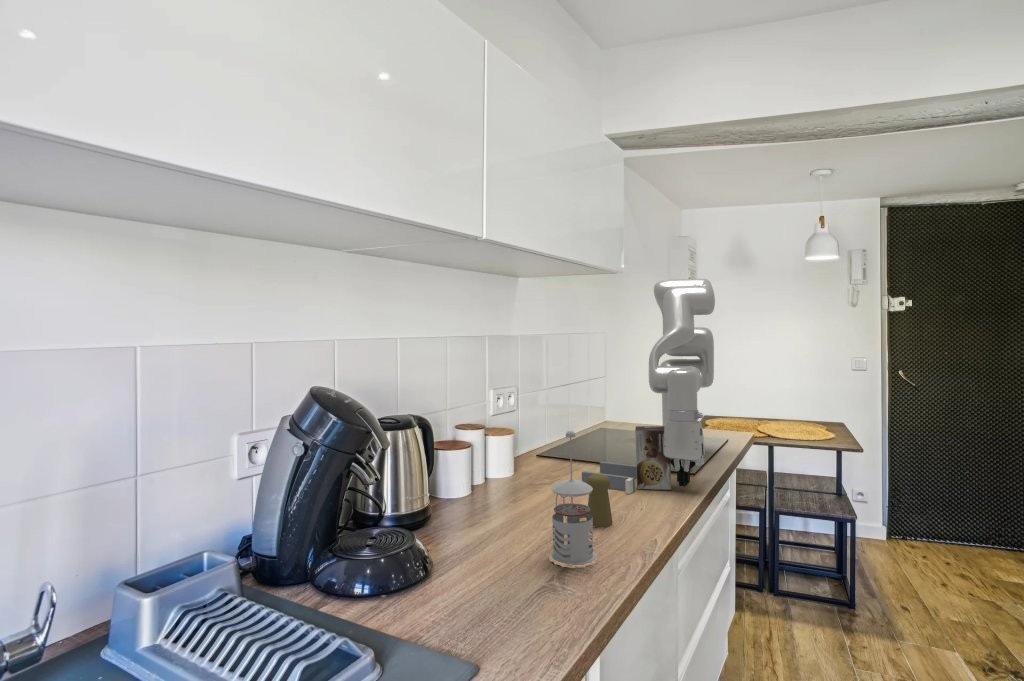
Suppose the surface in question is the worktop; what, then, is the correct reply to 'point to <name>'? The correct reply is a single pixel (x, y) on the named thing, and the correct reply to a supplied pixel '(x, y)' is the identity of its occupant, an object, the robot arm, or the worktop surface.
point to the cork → (599, 500)
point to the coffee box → (651, 459)
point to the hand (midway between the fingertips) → (683, 485)
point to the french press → (572, 522)
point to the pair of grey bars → (616, 476)
